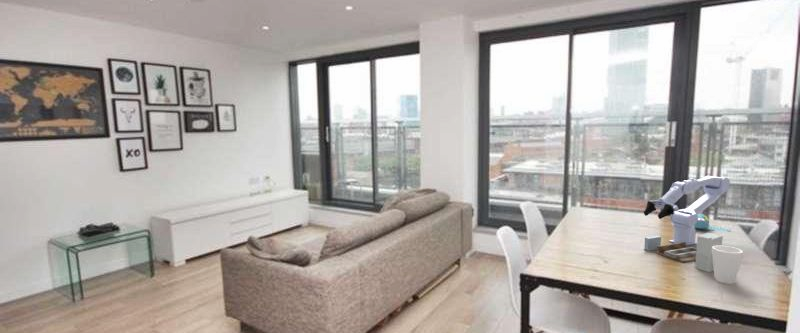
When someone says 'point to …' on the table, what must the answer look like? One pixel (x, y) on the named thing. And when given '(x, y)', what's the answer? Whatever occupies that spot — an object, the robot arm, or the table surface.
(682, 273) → the table surface
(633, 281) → the table surface
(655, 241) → the door panel
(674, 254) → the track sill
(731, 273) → the foam cup
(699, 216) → the blue toy animal
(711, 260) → the skincare box
